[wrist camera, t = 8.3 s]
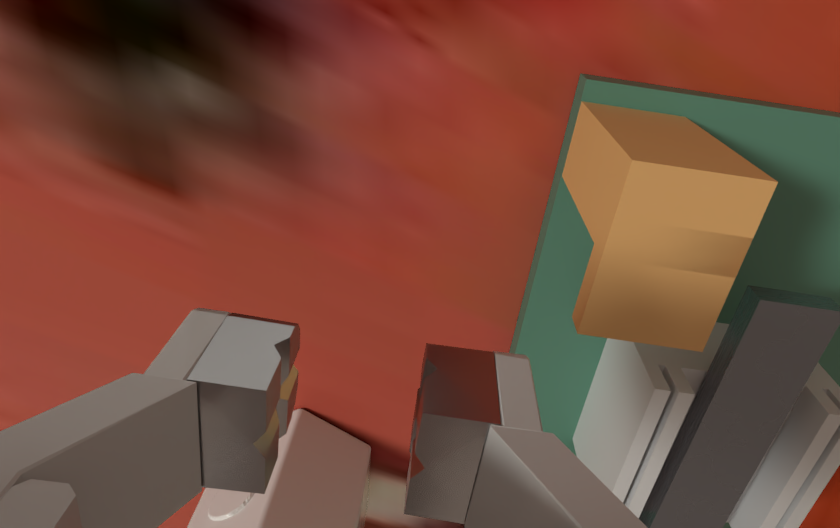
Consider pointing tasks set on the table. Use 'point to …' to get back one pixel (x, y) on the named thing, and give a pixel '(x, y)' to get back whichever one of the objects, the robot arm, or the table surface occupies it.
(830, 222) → the board
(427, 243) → the table surface
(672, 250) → the tan wooden block
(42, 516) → the robot arm
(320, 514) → the jar
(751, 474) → the dark grey flat bar
